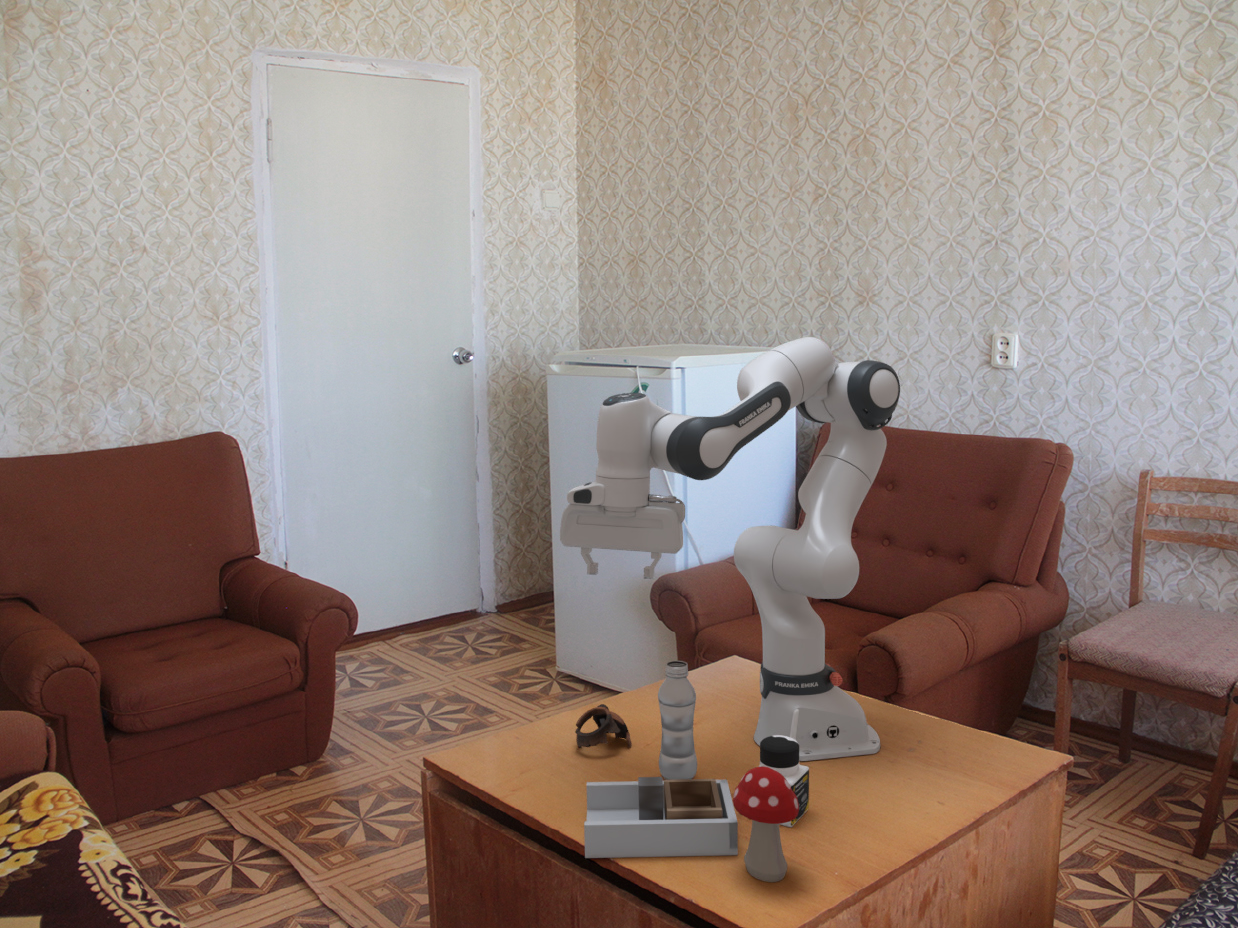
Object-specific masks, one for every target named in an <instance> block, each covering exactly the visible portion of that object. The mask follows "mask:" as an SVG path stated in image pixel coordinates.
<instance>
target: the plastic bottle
mask: <svg viewBox="0 0 1238 928" xmlns="http://www.w3.org/2000/svg"><path fill="white" fill-rule="evenodd" d="M688 665H689V664H688V662H686V661H684V660H670V661H667V662H666V663H665V673H664V675H665V676H666V678H665V679H664V681H663V682H662V684H661V685H660V687H659V689H658V691H657V698H658V705H659V713H660V719H661V720H660V723H661V739H660V741H661V743H660V744H661V745H660V750H659V751H660V752H659V757H658V768H659V773H660V774H661V777H662V778H663V779H664V780H677V779H694V778H695V776H696V774H697V771H698V770H697V769H698V759H697V754H696V750H695V741H694V739H695V738H694V718H695V709H696V703H697V701H696V700H697V693H696V691H695V687H694V686H693V684H692V683H691V681H690V680H689V679H688V676H689V671H688V670H689V668H688V667H689V666H688Z"/></svg>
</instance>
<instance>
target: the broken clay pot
mask: <svg viewBox="0 0 1238 928" xmlns="http://www.w3.org/2000/svg"><path fill="white" fill-rule="evenodd" d="M609 709H610V708H609V707H608V706H607V705H606V704H604V703H601V704H600V705H597V706H596V707H592V708H590V709H588V710H587V711H585V712H584V713H583V714H582V715H580V717H579V718H578V720H577V721H576V723H575V727H577V728H576V729H575V731H574V732H575V734H576V737H575V738H576V740H575V742H576V745H577V747H578V748H579V749H581V748H582V747H583V748H591V747H595V746H598V745H600V744H603V745H604V744H605V745H608V744H609V742H608V737H607V734H614V736H615V739H624V740H626V743H627V747H628V748H629V749H631V748H632V747H633V746H632V741H631V736H630V735H631V734H630V731H629V729H628V726H627V724H626V723H625V721H624V719H623V718H622V717H621V716H620V715H619V714H618V713H616V712H614V711H611V710H609ZM591 719H592V720H593V721H594V723H595V724H596V726H597V728H596V729H595V730H593V731H591V732H582V731H581V729H582V727H583V726H584V725H585V723H586V722H588V721H589V720H591Z"/></svg>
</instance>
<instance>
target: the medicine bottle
mask: <svg viewBox="0 0 1238 928" xmlns="http://www.w3.org/2000/svg"><path fill="white" fill-rule="evenodd" d="M757 767H769V768H772V769H774V770H776V771H778V772H779V773H780V774H782V775H783V776H784V778H785V779H786V780H787V782H788V783H789V785H790V787H791V789H792V791H793V792H794V793H795V795H796V797H797V799H798V803H799V812H798V815H797V817H796V818H795V819H793V820H791V821H789V822H786V823H781V824H779V826H780V825H781V826H784V827H788V828H792V827H794V825H795V824H796V823H797V822H798V821H799V820H800V819H801V818H802V817H803V816H804V814H805V813H807V811H808V810H809V808H810V767H809V766H807V765H802V764H800V761H799V743H798V742H797V741H796V740H795V739H793V738H790V737H787V736H783V735H774V736H769V737H766V738H764V739H763V740H762V741H761V742H760V746H759V766H757Z"/></svg>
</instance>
